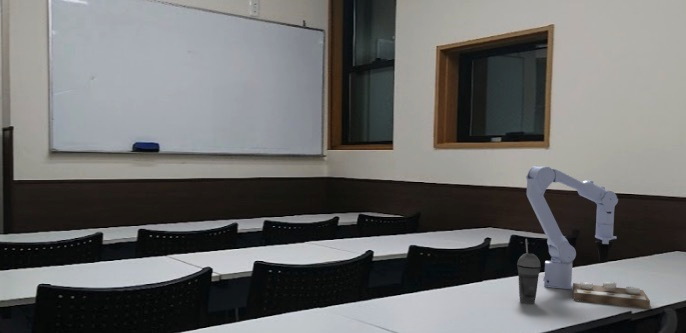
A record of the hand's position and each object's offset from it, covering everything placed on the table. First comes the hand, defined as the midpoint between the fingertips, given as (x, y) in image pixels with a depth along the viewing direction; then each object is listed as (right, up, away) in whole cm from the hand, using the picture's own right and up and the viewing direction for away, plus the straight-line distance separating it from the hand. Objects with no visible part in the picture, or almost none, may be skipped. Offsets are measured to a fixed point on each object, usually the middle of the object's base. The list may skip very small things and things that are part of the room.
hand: (603, 261), depth 214 cm
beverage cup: (-35, -9, -26) cm, 44 cm away
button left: (-12, -7, -15) cm, 20 cm away
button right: (+1, -7, -19) cm, 21 cm away
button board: (-5, -10, -17) cm, 20 cm away
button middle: (-5, -6, -17) cm, 19 cm away
